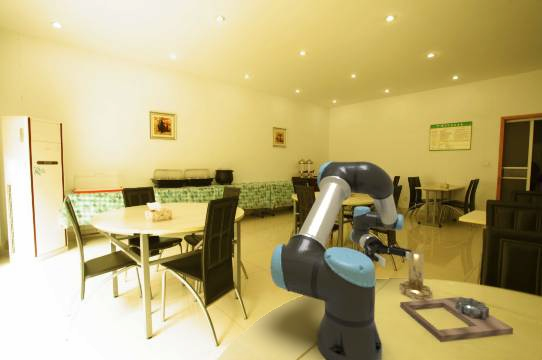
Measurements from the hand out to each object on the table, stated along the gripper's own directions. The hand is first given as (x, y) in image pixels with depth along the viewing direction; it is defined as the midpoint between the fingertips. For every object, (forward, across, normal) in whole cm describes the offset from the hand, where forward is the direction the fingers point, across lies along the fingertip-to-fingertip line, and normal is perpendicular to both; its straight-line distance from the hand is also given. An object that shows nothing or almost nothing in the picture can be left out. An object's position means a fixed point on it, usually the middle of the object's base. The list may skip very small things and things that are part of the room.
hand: (401, 262), depth 96 cm
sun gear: (+23, -6, -6) cm, 25 cm away
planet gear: (+8, 0, -8) cm, 11 cm away
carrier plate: (+23, 0, -8) cm, 24 cm away
